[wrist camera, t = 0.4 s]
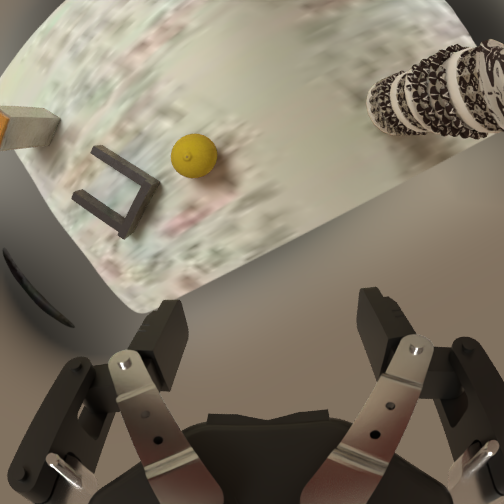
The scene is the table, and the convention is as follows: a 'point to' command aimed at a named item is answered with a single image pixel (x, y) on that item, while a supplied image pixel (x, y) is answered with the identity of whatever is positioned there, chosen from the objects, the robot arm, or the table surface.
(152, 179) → the channel
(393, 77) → the decorative candle
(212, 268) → the table surface
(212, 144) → the lemon
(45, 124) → the block
